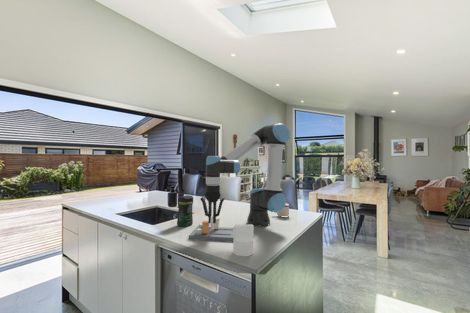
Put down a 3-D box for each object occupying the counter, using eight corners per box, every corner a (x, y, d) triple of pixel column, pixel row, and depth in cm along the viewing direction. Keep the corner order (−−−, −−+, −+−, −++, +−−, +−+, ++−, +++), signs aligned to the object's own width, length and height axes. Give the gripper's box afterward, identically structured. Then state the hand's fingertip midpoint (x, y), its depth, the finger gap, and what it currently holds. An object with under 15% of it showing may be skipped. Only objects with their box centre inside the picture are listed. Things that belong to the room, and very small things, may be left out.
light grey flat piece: (209, 225, 140) (210, 223, 140) (207, 228, 133) (207, 226, 133) (201, 223, 140) (201, 221, 140) (198, 226, 133) (198, 224, 133)
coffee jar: (184, 227, 143) (185, 197, 144) (174, 225, 147) (175, 195, 148) (194, 224, 152) (195, 195, 152) (185, 222, 156) (186, 194, 156)
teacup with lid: (289, 215, 182) (289, 200, 182) (288, 218, 173) (289, 202, 174) (273, 214, 185) (273, 199, 186) (272, 217, 177) (272, 201, 177)
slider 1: (209, 231, 128) (209, 221, 128) (207, 233, 125) (208, 222, 125) (203, 231, 128) (203, 220, 128) (201, 233, 125) (201, 222, 125)
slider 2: (219, 227, 137) (219, 217, 137) (218, 229, 133) (218, 218, 133) (213, 227, 137) (214, 217, 137) (212, 229, 134) (212, 218, 134)
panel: (237, 231, 138) (238, 223, 138) (234, 241, 120) (235, 233, 120) (197, 229, 141) (197, 222, 141) (188, 239, 123) (188, 230, 123)
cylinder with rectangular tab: (234, 256, 102) (235, 228, 102) (231, 248, 111) (232, 223, 111) (255, 255, 103) (255, 227, 104) (250, 248, 112) (250, 222, 112)
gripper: (225, 184, 130) (225, 227, 129) (202, 183, 131) (201, 226, 130) (223, 185, 122) (223, 231, 122) (199, 185, 124) (198, 230, 123)
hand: (212, 229), depth 126 cm, fingers closed
